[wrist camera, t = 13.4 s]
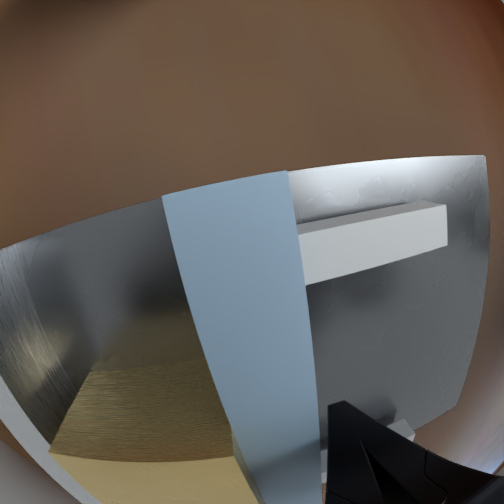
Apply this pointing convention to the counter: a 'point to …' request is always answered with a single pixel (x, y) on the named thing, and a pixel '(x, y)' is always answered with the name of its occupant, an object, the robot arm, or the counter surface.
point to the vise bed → (318, 294)
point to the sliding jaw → (277, 309)
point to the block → (154, 439)
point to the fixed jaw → (31, 375)
